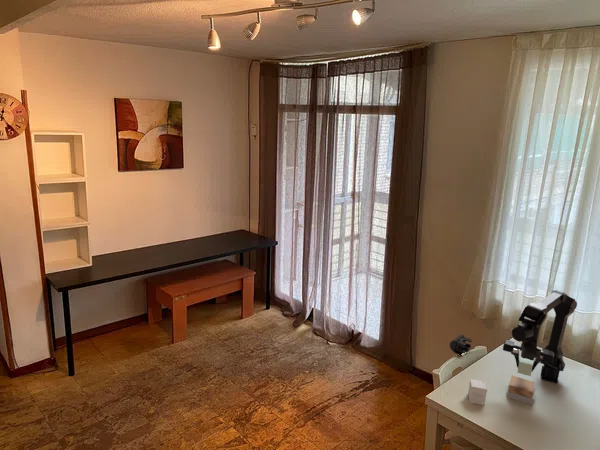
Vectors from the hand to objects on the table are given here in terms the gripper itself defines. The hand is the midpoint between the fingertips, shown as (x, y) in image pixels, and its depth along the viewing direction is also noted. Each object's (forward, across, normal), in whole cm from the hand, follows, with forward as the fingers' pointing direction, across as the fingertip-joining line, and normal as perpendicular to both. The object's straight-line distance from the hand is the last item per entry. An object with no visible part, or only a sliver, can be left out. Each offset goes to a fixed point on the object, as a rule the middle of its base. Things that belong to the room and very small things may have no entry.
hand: (524, 369), depth 189 cm
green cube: (+1, 0, 0) cm, 1 cm away
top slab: (+10, 0, 0) cm, 10 cm away
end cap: (+12, -29, +26) cm, 41 cm away
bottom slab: (+13, 0, 0) cm, 13 cm away
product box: (+12, -16, -14) cm, 24 cm away
